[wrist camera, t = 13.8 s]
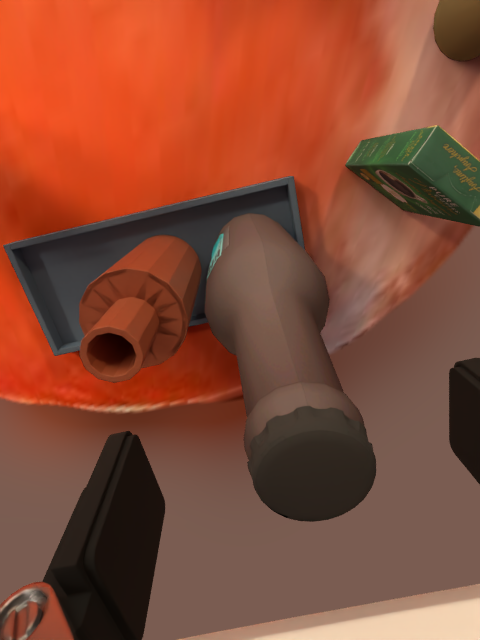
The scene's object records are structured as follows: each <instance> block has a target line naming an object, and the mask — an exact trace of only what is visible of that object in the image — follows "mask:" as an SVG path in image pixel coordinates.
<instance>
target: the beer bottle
mask: <svg viewBox="0 0 480 640" xmlns="http://www.w3.org/2000/svg"><path fill="white" fill-rule="evenodd" d="M328 307H329V295H328V290H327V286H326V281H325V276H324V275H323V274H322V272H321V271H320V269H319V268H318V267H317V265H316V264H315V263H314V261H313V260H312V259H311V257H310V256H309V255H308V253H307V252H306V251H305V250H304V249H303V248H302V247H301V246H300V245H299V244H298V243H297V242H296V241H295V240H294V239H293V238H292V237H291V235H290V234H289V233H288V232H287V231H286V230H285V229H284V228H283V227H282V226H281V225H280V224H279V223H278V222H276V221H274V220H272V219H271V218H269V217H267V216H265V215H263V214H254V213H247V214H244V215H240V216H237V217H234V218H233V219H232V220H231V221H229V222H228V223H227V224H226V225H225V226H223V228H222V229H221V231H220V233H219V235H218V237H217V239H216V241H215V243H214V246H213V251H212V256H211V260H210V265H209V270H208V275H207V279H206V291H205V314H206V317H207V320H208V322H209V325H210V328H211V331H212V333H213V335H214V336H215V337H216V338H217V339H218V340H219V341H220V342H221V344H222V345H223V346H224V347H225V348H226V349H227V350H228V351H229V352H230V353H232V354H234V355H237V361H238V367H239V373H240V379H241V385H242V391H243V396H244V402H245V408H246V414H247V420H246V426H245V434H244V447H245V451H246V454H247V457H248V459H249V461H248V462H247V463H248V469H249V472H250V474H251V476H252V479H253V485H254V488H255V490H256V492H257V494H258V495H259V497H260V499H261V500H262V501H263V503H265V504H266V505H267V506H268V507H269V508H270V509H271V510H273V511H274V512H276V513H278V514H280V515H282V516H284V517H286V518H290V519H293V520H298V521H321V520H328V519H331V518H334V517H337V516H340V515H342V514H344V513H346V512H348V511H350V510H351V509H353V508H355V507H356V506H357V505H358V504H359V503H360V502H361V501H362V500H363V499H364V498H365V497H366V495H367V494H368V492H369V491H370V489H371V488H372V485H373V482H374V479H375V476H376V459H375V455H374V452H373V448H372V444H371V443H369V442H368V438H367V434H366V429H365V427H364V421H363V418H362V416H361V414H360V412H359V410H358V408H357V407H356V406H355V405H354V404H353V402H352V401H351V400H350V399H349V398H348V396H346V394H344V392H343V389H342V387H341V384H340V382H339V379H338V377H337V374H336V372H335V369H334V367H333V364H332V362H331V359H330V357H329V354H328V352H327V349H326V347H325V344H324V342H323V339H322V337H321V334H320V332H321V330H322V329H323V327H324V326H325V321H326V316H327V312H328Z"/></svg>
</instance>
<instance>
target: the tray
mask: <svg viewBox="0 0 480 640" xmlns="http://www.w3.org/2000/svg"><path fill="white" fill-rule="evenodd" d="M247 213H254V214H263V215H265V216H267V217H269V218H271V219H272V220H274V221H276V222H278V223H279V224H280V225H281V226H282V227H283V228H284V229H285V230H286V231H287V232H288V233H289V234H290V235H291V237H292V238H293V239H294V240H295V241H296V242H297V243H298V244H299V245H300V246H301V247H302V248H303V249H304V250H305V247H304V241H303V234H302V228H301V222H300V215H299V209H298V202H297V196H296V189H295V183H294V177H293V176H288V177H284V178H279V179H275V180H271V181H267V182H263V183H258V184H254V185H250V186H246V187H242V188H237V189H233V190H229V191H225V192H221V193H217V194H212V195H208V196H204V197H200V198H196V199H191V200H187V201H183V202H179V203H175V204H170V205H166V206H162V207H158V208H154V209H149V210H145V211H141V212H137V213H133V214H128V215H124V216H120V217H116V218H112V219H108V220H103V221H99V222H95V223H91V224H87V225H82V226H78V227H74V228H70V229H66V230H61V231H57V232H53V233H49V234H45V235H40V236H36V237H32V238H28V239H24V240H19V241H15V242H12V243H9V244H6V245H3V246H4V249H5V251H6V253H7V255H8V257H9V259H10V261H11V264H12V266H13V268H14V270H15V272H16V274H17V276H18V278H19V281H20V283H21V285H22V287H23V289H24V291H25V293H26V296H27V298H28V300H29V302H30V304H31V306H32V308H33V310H34V313H35V315H36V317H37V319H38V321H39V323H40V325H41V328H42V330H43V332H44V334H45V336H46V338H47V340H48V342H49V345H50V347H51V349H52V351H53V353H54V355H55V356H57V355H61V354H66V353H70V352H75V351H80V346H81V340H82V339H83V338H84V337H85V336H84V333H83V331H82V328H81V326H80V324H79V303H80V301H81V299H82V297H83V295H84V293H85V291H86V289H87V287H88V285H89V284H90V283H92V282H93V281H94V280H95V279H97V278H98V277H99V276H100V275H102V274H103V273H104V272H105V271H107V270H108V269H109V268H110V267H112V266H113V265H114V264H115V263H117V262H118V261H119V260H120V259H122V258H123V257H124V256H125V255H127V254H128V253H129V252H130V251H132V250H133V249H134V248H135V247H137V246H138V245H139V244H141V243H142V242H143V241H145V240H146V239H147V238H150V237H153V236H156V235H171V236H175V237H178V238H180V239H182V240H184V241H185V242H187V243H188V244H189V245H190V246H191V247H192V248H193V249H194V251H195V252H196V254H197V256H198V258H199V260H200V264H201V270H202V271H201V279H200V285H199V288H198V292H197V296H196V300H195V303H194V307H193V311H192V315H191V319H190V322H189V326H194V325H199V324H203V323H208V320H207V317H206V314H205V291H206V279H207V275H208V270H209V265H210V260H211V256H212V251H213V246H214V243H215V241H216V239H217V237H218V235H219V233H220V231H221V229H222V228H223V226H225V225H226V224H227V223H228V222H229V221H231V220H232V219H233V218H234V217H237V216H240V215H244V214H247ZM189 326H188V327H189Z"/></svg>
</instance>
